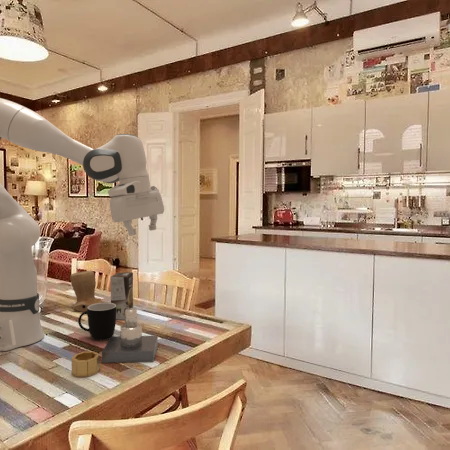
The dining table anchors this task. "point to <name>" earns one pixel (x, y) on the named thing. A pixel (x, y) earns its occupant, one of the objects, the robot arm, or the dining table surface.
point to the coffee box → (122, 293)
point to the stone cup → (84, 290)
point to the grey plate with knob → (130, 343)
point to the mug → (100, 320)
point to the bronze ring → (85, 364)
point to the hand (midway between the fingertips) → (143, 232)
